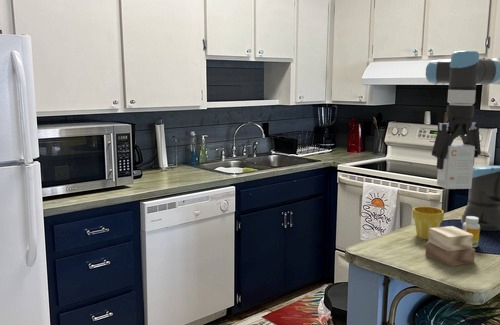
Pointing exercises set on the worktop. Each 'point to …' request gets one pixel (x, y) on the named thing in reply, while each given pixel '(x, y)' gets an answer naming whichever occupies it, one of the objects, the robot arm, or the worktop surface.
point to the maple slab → (450, 238)
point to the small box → (458, 167)
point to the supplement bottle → (472, 228)
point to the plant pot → (427, 219)
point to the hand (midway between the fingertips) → (454, 178)
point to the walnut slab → (450, 255)
